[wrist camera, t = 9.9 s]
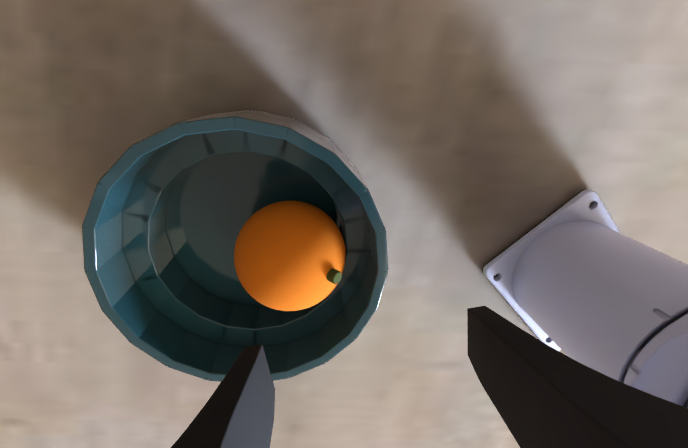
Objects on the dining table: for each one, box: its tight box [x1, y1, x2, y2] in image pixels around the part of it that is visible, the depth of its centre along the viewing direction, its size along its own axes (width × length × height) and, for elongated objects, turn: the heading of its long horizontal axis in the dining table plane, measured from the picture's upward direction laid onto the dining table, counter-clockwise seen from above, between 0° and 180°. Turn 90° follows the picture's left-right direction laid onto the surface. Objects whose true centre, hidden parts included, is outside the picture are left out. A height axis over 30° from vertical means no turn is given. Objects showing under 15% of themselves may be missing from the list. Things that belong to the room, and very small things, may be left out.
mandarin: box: [234, 200, 346, 311], centre depth 17 cm, size 5×5×6 cm
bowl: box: [82, 110, 388, 382], centre depth 18 cm, size 13×13×5 cm
